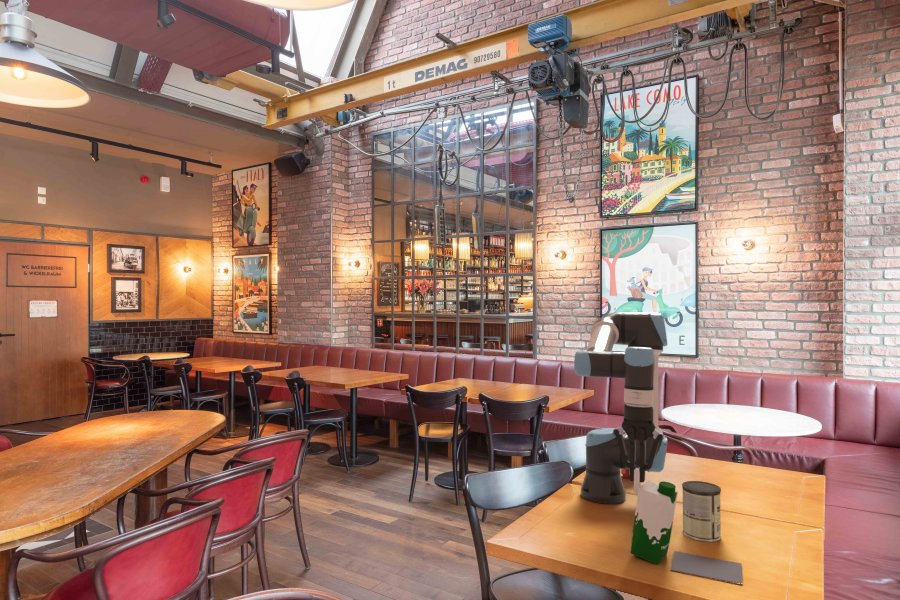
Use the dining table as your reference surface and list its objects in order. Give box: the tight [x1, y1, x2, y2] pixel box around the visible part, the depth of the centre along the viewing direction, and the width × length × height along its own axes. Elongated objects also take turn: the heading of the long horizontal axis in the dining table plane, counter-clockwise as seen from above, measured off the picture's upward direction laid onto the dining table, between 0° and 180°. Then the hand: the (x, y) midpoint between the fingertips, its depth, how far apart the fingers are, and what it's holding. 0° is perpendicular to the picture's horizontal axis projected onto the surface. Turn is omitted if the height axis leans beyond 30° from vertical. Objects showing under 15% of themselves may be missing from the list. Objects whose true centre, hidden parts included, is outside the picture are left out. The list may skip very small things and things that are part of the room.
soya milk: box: [630, 480, 679, 566], centre depth 146 cm, size 9×9×20 cm
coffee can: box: [681, 480, 722, 543], centre depth 161 cm, size 10×10×14 cm
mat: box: [670, 550, 744, 584], centre depth 140 cm, size 16×12×1 cm
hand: (637, 493), depth 147 cm, fingers closed
